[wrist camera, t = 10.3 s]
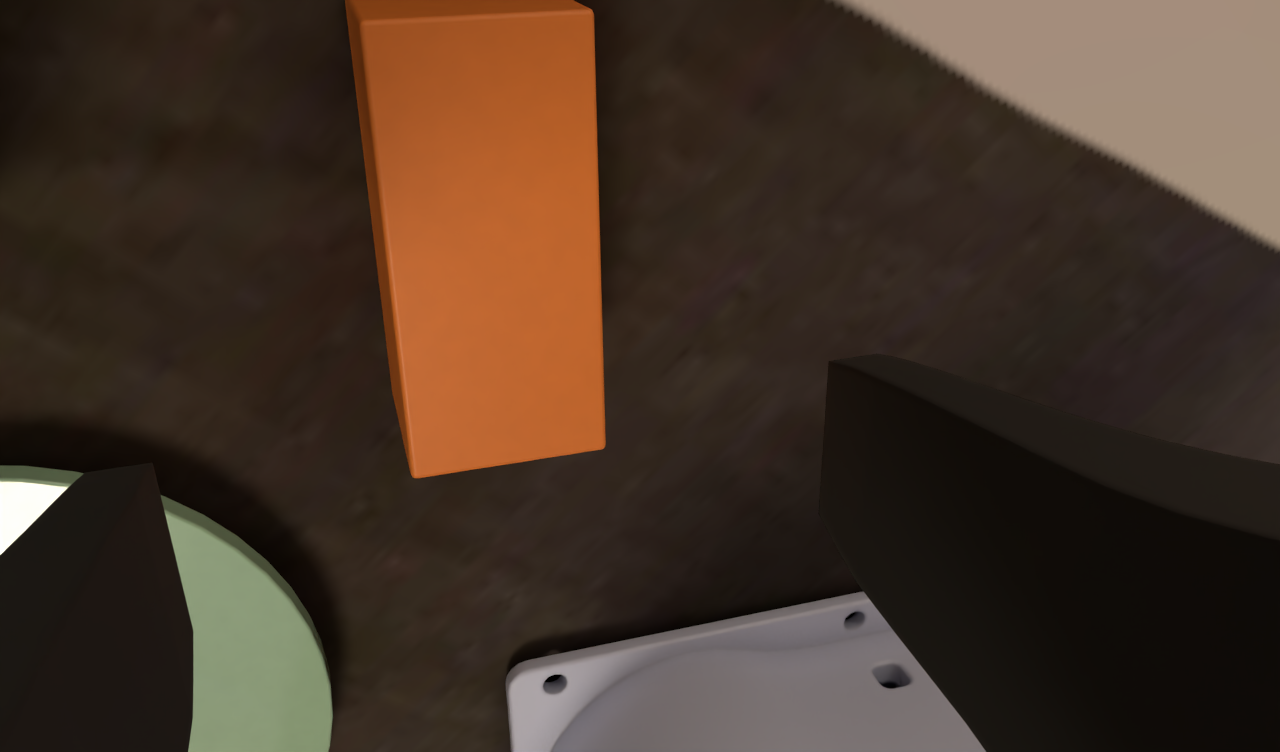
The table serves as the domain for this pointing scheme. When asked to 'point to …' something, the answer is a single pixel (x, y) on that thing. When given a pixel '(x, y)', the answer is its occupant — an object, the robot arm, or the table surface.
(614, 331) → the table surface
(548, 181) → the orange rectangular block
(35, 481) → the pot lid
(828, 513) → the robot arm
